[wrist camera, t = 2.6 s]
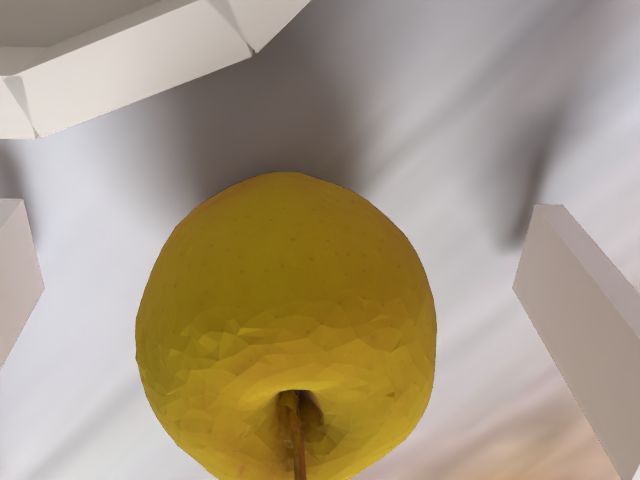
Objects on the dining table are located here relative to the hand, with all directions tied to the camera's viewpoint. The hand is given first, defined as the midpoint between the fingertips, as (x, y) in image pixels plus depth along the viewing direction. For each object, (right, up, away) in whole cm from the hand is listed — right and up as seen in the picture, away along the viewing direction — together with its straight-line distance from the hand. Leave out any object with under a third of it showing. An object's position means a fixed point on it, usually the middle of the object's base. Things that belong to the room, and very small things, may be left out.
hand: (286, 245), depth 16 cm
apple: (0, +1, +1) cm, 1 cm away
